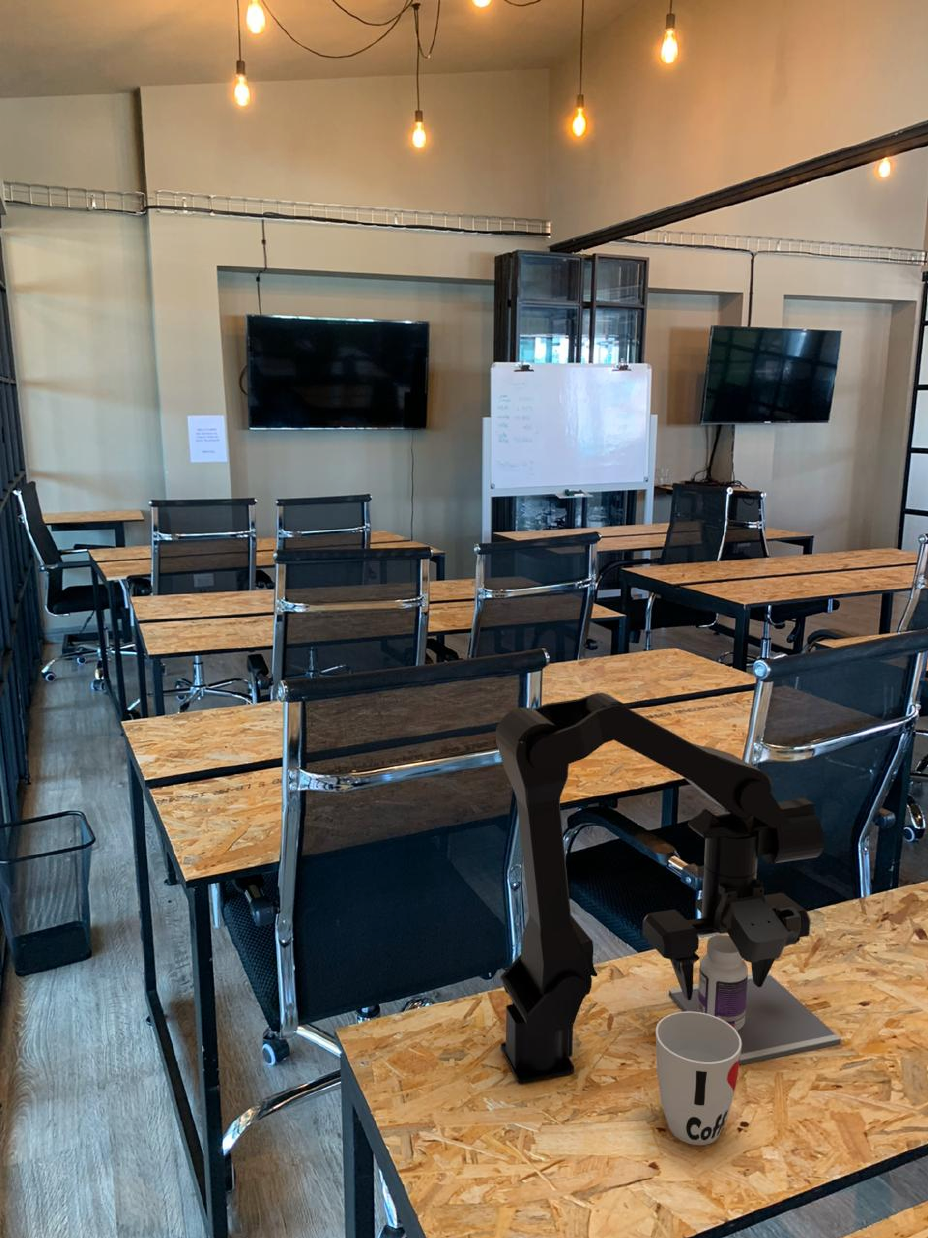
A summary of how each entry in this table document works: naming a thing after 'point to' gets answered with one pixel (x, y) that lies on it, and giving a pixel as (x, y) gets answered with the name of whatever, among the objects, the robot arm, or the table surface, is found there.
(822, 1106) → the table surface
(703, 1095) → the cup
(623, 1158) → the table surface
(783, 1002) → the mat
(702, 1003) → the pill bottle
